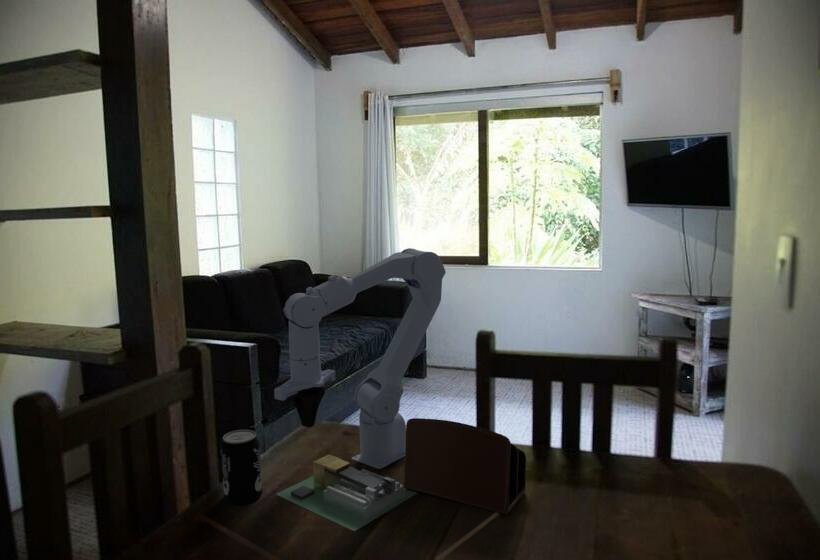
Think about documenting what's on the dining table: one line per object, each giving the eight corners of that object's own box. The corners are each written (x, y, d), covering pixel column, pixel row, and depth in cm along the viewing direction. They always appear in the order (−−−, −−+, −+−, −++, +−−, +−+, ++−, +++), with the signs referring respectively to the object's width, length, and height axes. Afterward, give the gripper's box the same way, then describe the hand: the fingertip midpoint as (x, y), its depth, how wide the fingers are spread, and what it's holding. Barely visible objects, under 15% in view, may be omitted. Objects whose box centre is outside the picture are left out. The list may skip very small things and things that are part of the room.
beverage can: (252, 510, 108) (248, 444, 106) (217, 506, 109) (213, 441, 108) (268, 492, 114) (264, 429, 113) (235, 489, 116) (231, 427, 114)
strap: (339, 467, 115) (339, 462, 114) (388, 487, 107) (388, 482, 107) (327, 473, 112) (327, 467, 112) (376, 494, 105) (376, 488, 104)
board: (339, 466, 124) (339, 460, 124) (417, 496, 112) (417, 489, 112) (275, 497, 112) (275, 491, 112) (354, 534, 100) (354, 527, 99)
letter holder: (507, 516, 104) (509, 434, 102) (403, 489, 113) (403, 414, 111) (526, 492, 112) (528, 416, 111) (427, 470, 122) (429, 399, 120)
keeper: (330, 479, 118) (329, 454, 117) (351, 488, 114) (350, 462, 113) (314, 487, 115) (312, 461, 114) (335, 496, 111) (334, 470, 110)
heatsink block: (363, 482, 116) (362, 460, 115) (404, 498, 110) (404, 475, 109) (323, 503, 109) (322, 479, 108) (365, 522, 102) (364, 497, 102)
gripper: (292, 369, 110) (296, 442, 112) (346, 351, 121) (348, 417, 123) (264, 363, 114) (268, 434, 116) (319, 346, 125) (322, 411, 127)
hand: (308, 425), depth 120 cm, fingers closed
